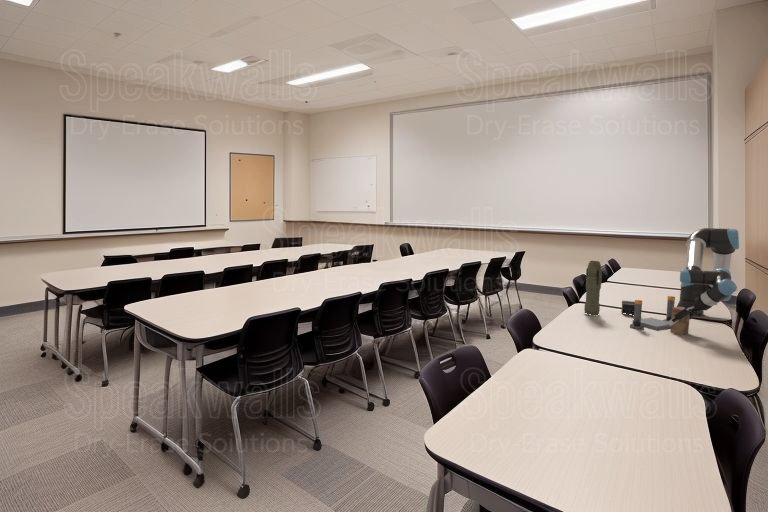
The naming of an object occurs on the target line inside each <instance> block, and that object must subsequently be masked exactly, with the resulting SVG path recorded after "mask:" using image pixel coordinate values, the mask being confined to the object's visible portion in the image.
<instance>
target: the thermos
mask: <svg viewBox="0 0 768 512" xmlns="http://www.w3.org/2000/svg"><path fill="white" fill-rule="evenodd" d="M587 264H588V265H587V268H586V274H585V289H586V290H585V303H584V308H583V309H584V313H587V314H591V315H598V314H599V315H600V311H601V308H600V307H601V304H600V294H601V293H600V292H601V289H602V279H603V271H602V265H601V262H600V261H598V260H590V261H589V262H588V263H587Z"/></svg>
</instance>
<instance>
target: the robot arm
mask: <svg viewBox="0 0 768 512" xmlns="http://www.w3.org/2000/svg"><path fill="white" fill-rule="evenodd" d="M685 247H686V248H687V250H686V251H687V252H686V258H685V259H686V261H685V268H684V269H683V268H682V269H680V271H679V281H680V286H679V287H680V292H679V293H680V294H679V301H678V303H677V305H676V307H684V308H685V309H683V310H682V311H680V312H679V313H677V314H675V315H674V316H675V317H674V318H672V319H671V320H670V321H668V323H669V325H670V326H672V325H674V324H675V323H677V322H678V321H679V320H680V319H682V318H683V317H685V316H687V315H689V314H690V319H689V320H692V318H694V317H702V316H704V312H705V311H708V310H709V309H711V308H712V307H714V306H718V303H720V302H729V300H731V298H732V295H733V294H734V293H735V292H736V291H737V290H738V286H737V284H736V283H735V282H734V281H733V280H732V273H731V271H730V267H731V261H732V254H734V253H735V252H736V250H738V249H739V248H740V236H739V230H737V229H735V228H717V227H716V228H714V227H713V228H712V227H711V228H708V227H704V228H698V229H697V230H695V231H694V232H692V233H690V235H689V236H688V237H687V238H686V243H685ZM705 248H707V249H710V250H711V251H712V252H713V254H712V255H713V256H712V264H711V270H703V259H704V258H703V257H704V250H705Z"/></svg>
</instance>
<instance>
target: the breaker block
mask: <svg viewBox="0 0 768 512" xmlns="http://www.w3.org/2000/svg"><path fill="white" fill-rule="evenodd" d="M683 309H685V308H684V307H677V306H674V307H672V315H671V316H672V317H671V319H672V318H674V317H675V316H674V315H675V314H677V313H679V312H680V311H682V310H683ZM690 320H691V319H690V314H689V315H687V316H685V317H683V318H682V319H680V320H679V321H678V322H677V323H675V324H674V325H672V326H671V328H670V331H669V332H670V333H674V334H677V335H687V334H689V329H690V327H689V326H690Z"/></svg>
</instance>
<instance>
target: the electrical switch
mask: <svg viewBox="0 0 768 512" xmlns="http://www.w3.org/2000/svg"><path fill="white" fill-rule="evenodd" d="M634 308H635V300H634V301H633V300H632V301H631V300H624V299H623V300H621V311H620V312H621V314H622V315H624V314H623V313H626V314H632V315H631V316H633V315H634Z"/></svg>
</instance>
